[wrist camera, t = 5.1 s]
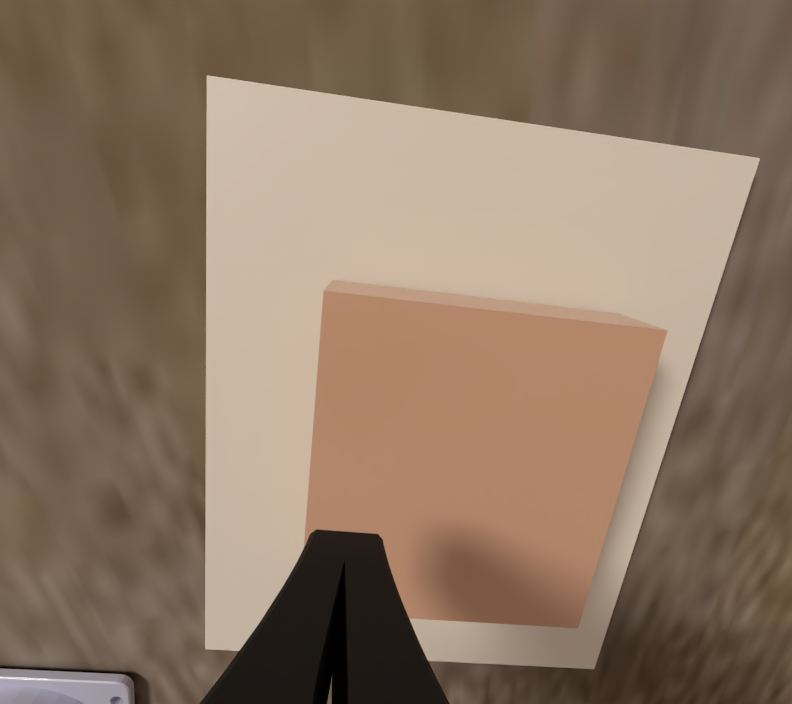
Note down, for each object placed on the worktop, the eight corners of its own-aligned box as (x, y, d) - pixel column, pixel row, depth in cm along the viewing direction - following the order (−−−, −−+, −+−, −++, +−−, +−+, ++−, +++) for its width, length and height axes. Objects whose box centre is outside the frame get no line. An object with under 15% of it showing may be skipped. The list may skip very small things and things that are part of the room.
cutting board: (587, 655, 19) (594, 669, 18) (211, 635, 17) (205, 649, 17) (743, 161, 13) (759, 158, 13) (215, 82, 12) (206, 75, 11)
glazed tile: (311, 550, 16) (546, 566, 16) (299, 612, 13) (577, 628, 14) (333, 278, 13) (614, 311, 14) (323, 290, 11) (667, 330, 11)
